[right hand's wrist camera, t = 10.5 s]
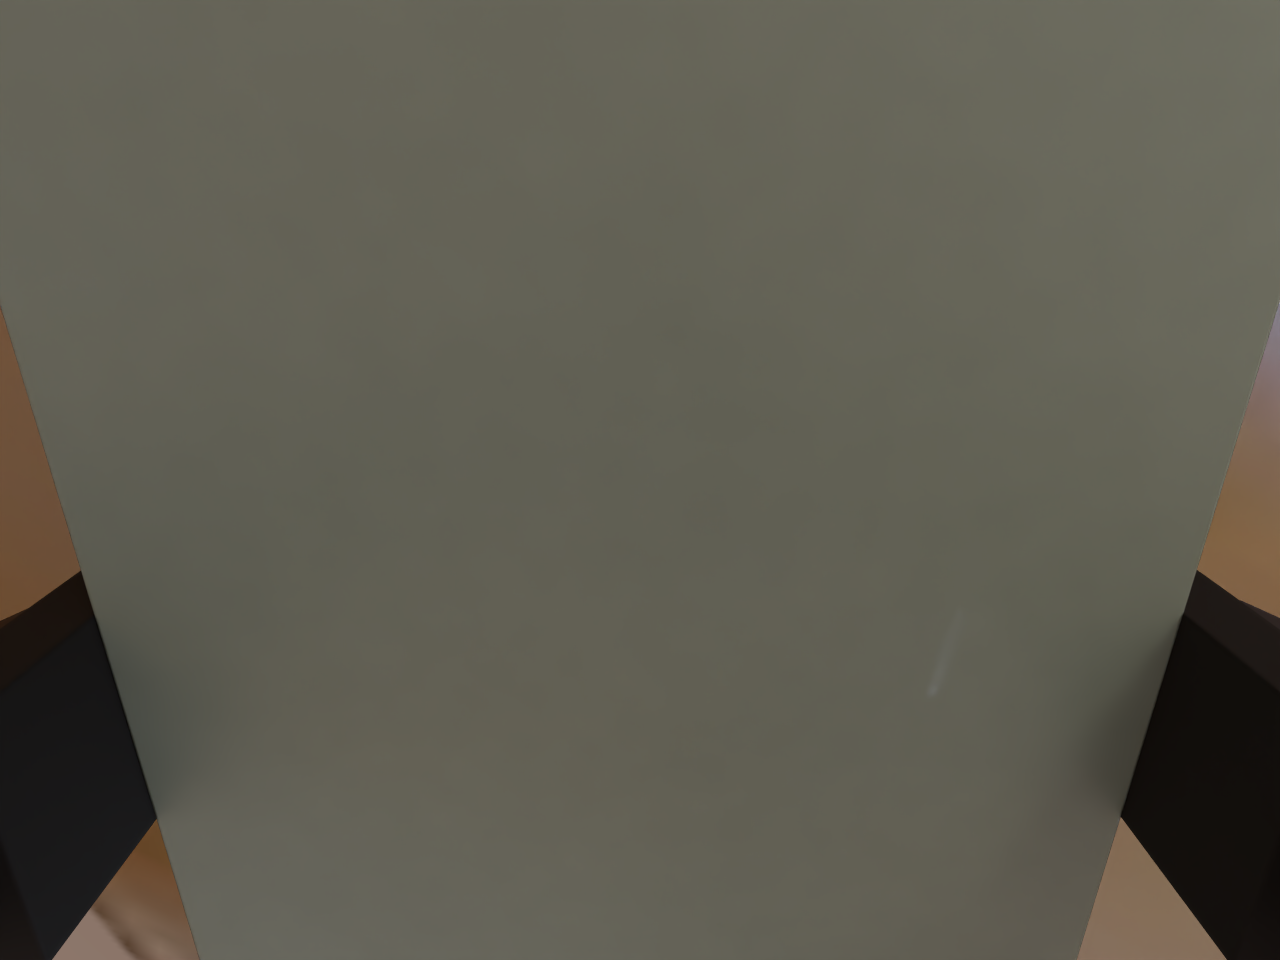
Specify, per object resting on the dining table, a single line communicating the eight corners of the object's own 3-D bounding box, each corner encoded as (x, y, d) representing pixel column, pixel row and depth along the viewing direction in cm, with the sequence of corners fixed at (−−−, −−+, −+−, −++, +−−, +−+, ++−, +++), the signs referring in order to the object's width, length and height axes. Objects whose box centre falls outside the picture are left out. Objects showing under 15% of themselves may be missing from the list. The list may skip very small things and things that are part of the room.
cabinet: (290, -434, 13) (-756, -2153, 3) (987, -431, 13) (2028, -2110, 3) (413, 580, 20) (207, 993, 10) (861, 580, 20) (1068, 991, 10)
